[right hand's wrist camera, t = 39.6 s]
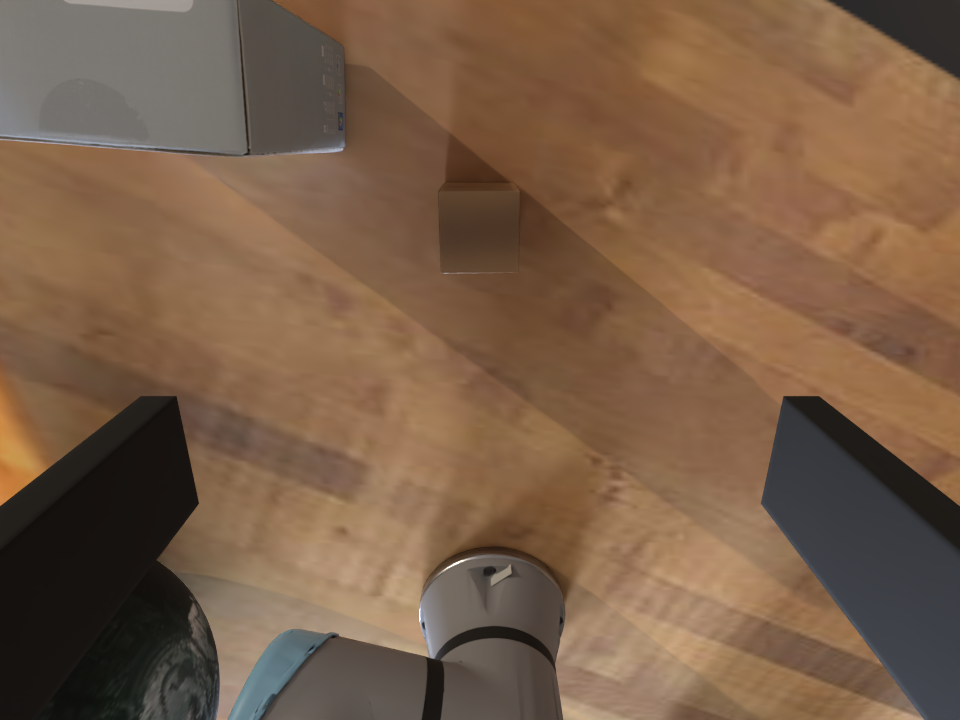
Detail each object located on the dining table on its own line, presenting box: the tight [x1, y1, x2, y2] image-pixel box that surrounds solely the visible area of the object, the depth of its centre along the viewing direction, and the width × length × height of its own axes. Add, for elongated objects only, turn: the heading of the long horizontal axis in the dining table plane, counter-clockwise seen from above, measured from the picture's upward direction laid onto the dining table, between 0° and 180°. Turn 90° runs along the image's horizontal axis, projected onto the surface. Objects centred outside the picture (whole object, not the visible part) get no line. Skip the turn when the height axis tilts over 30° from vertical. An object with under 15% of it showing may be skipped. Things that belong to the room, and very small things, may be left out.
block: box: [438, 182, 520, 274], centre depth 44 cm, size 6×6×7 cm
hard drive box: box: [0, 0, 346, 157], centre depth 35 cm, size 16×8×20 cm, turn 86°
